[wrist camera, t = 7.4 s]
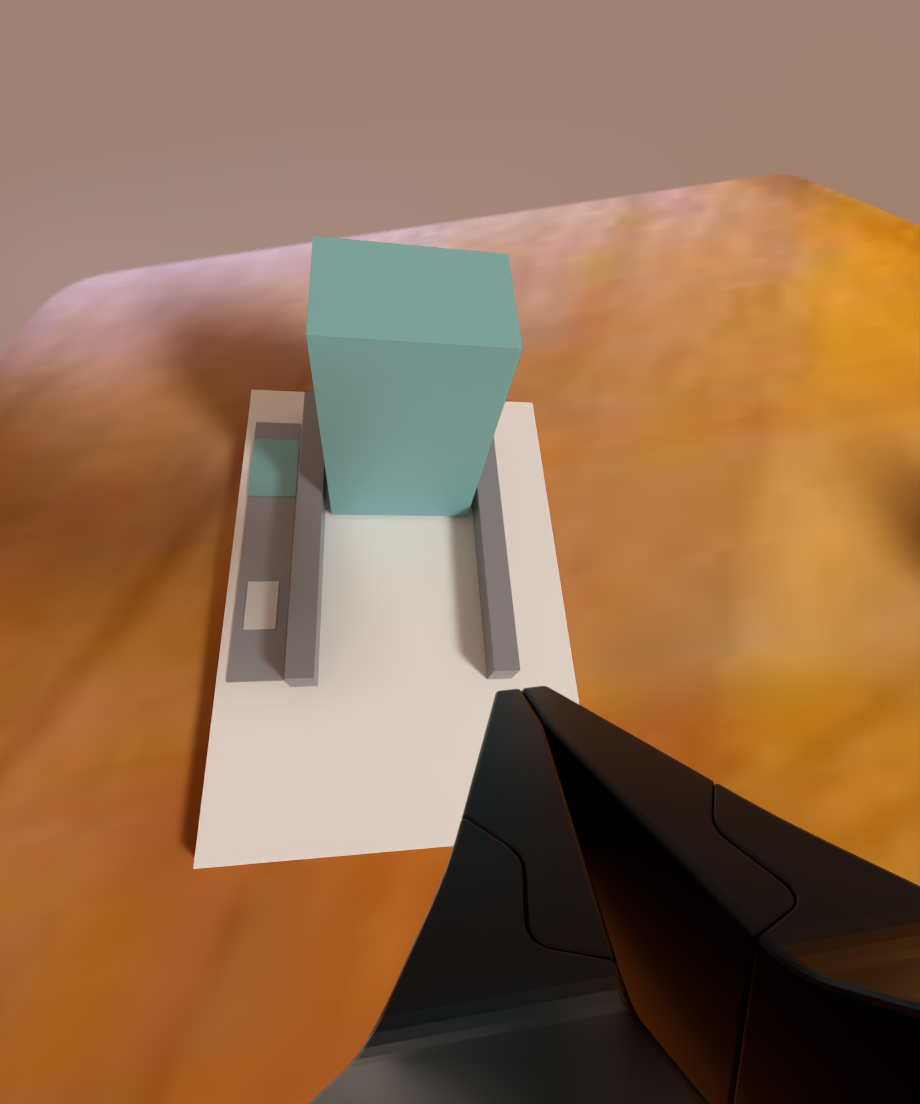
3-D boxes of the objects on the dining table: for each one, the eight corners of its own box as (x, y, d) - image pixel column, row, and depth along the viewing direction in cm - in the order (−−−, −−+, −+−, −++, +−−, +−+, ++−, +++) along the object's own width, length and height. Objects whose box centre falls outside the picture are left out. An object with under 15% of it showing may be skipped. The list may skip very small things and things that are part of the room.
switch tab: (467, 516, 24) (522, 348, 15) (331, 514, 23) (306, 334, 14) (461, 443, 26) (507, 254, 17) (334, 439, 25) (313, 236, 16)
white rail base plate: (589, 831, 20) (616, 835, 18) (202, 865, 18) (177, 874, 16) (527, 415, 29) (540, 382, 27) (255, 403, 27) (244, 366, 24)
